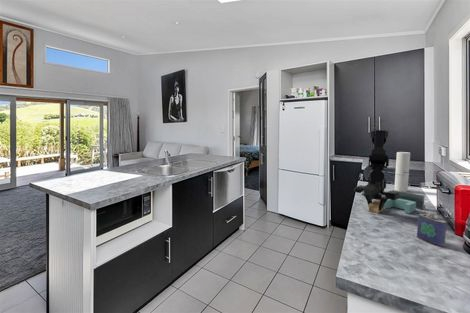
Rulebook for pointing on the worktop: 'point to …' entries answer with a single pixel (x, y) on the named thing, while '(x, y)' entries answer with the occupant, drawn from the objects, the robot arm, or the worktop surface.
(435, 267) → the worktop surface
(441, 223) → the flask
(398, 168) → the cylindrical container
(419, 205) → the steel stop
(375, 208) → the oak peg
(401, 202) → the slot block
